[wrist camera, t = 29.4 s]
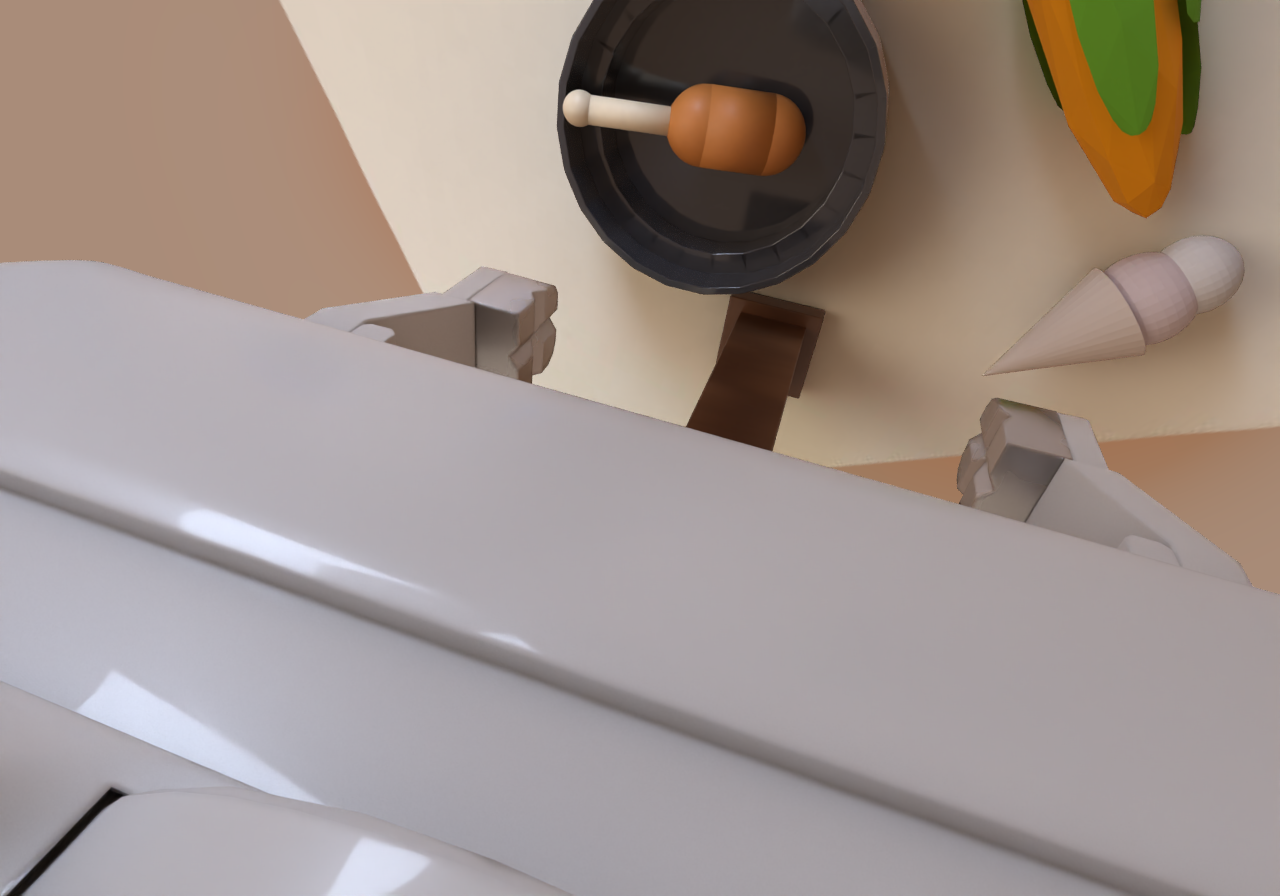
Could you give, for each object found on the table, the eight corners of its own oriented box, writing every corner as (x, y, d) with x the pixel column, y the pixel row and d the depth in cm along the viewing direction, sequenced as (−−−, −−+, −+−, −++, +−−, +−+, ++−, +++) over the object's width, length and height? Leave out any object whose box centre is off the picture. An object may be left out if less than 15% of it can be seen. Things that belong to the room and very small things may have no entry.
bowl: (536, 80, 50) (497, 92, 45) (781, -156, 39) (764, -172, 34) (694, 310, 56) (675, 343, 51) (945, 162, 45) (949, 186, 40)
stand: (678, 362, 59) (551, 586, 38) (695, 272, 54) (559, 470, 33) (799, 394, 57) (736, 648, 36) (827, 304, 52) (773, 535, 31)
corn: (1194, -269, 27) (1264, 207, 35) (1156, -236, 33) (1223, 168, 41) (988, -141, 31) (1091, 262, 39) (986, -131, 37) (1076, 219, 45)
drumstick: (565, 137, 47) (556, 156, 43) (569, 57, 44) (560, 68, 40) (789, 169, 48) (799, 190, 44) (808, 92, 45) (821, 107, 41)
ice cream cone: (963, 348, 51) (1197, 232, 45) (1005, 423, 49) (1254, 312, 43) (955, 325, 45) (1219, 191, 39) (1001, 408, 44) (1285, 281, 38)
